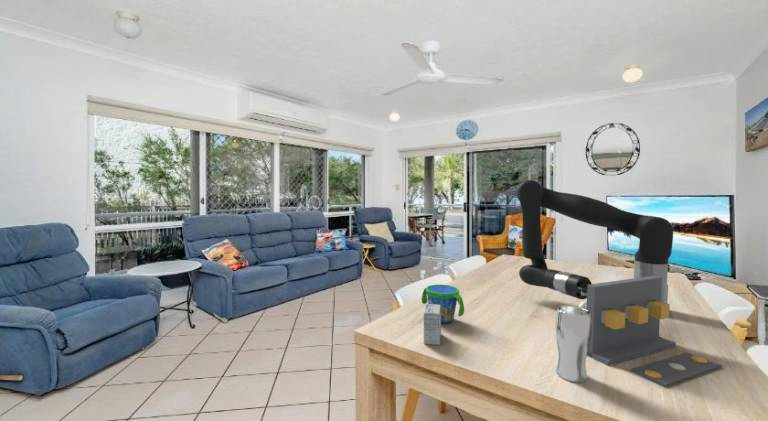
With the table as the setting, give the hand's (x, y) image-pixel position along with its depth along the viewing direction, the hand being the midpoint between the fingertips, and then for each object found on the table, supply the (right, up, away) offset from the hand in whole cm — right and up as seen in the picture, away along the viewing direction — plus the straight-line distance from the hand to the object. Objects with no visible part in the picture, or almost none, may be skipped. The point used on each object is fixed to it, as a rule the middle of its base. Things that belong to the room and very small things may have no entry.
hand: (624, 300), depth 97 cm
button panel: (-6, -10, -8) cm, 15 cm away
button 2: (+2, -2, -5) cm, 6 cm away
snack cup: (-52, -9, +10) cm, 53 cm away
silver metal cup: (-28, -11, -22) cm, 37 cm away
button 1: (-15, -3, -12) cm, 19 cm away
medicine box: (-57, -10, -4) cm, 58 cm away
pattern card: (-2, -11, -19) cm, 22 cm away
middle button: (-6, -2, -8) cm, 11 cm away
